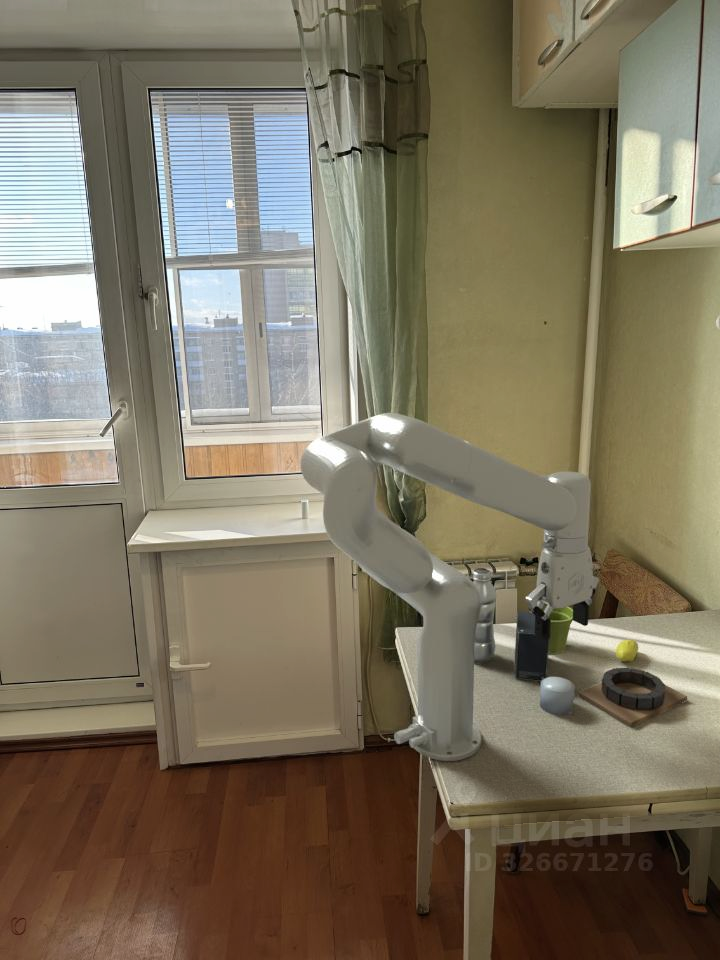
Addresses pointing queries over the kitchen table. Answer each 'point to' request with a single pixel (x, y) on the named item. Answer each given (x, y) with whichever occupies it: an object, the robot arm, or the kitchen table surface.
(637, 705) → the segmented ring
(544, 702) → the cap
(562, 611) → the plant pot
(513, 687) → the kitchen table surface
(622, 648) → the lemon
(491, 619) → the plastic bottle
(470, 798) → the kitchen table surface
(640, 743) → the kitchen table surface
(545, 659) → the small box
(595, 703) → the board
